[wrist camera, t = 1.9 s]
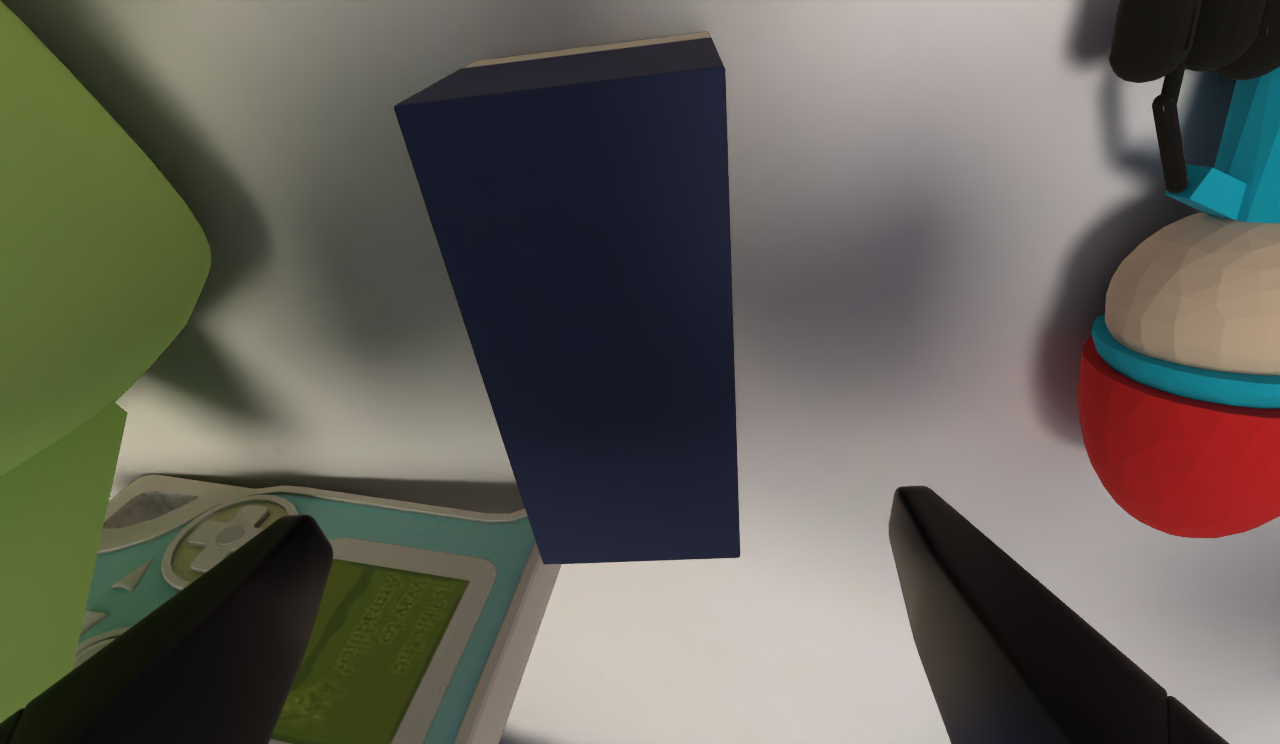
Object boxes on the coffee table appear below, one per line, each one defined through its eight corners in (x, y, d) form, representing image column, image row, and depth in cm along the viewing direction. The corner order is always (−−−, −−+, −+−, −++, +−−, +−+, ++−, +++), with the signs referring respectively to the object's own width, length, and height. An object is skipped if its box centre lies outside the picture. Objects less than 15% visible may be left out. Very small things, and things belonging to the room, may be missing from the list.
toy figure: (1064, -173, 11) (974, 481, 18) (1348, -348, 7) (1092, 614, 13) (1483, -235, 11) (1239, 453, 17) (2068, -460, 7) (1452, 577, 13)
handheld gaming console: (174, 426, 22) (568, 478, 20) (207, 481, 24) (574, 534, 21) (-240, 755, 13) (395, 920, 11) (-141, 806, 15) (428, 959, 12)
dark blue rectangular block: (472, 61, 13) (391, 105, 9) (709, 30, 12) (725, 65, 9) (568, 446, 19) (542, 565, 15) (726, 437, 18) (740, 558, 15)
